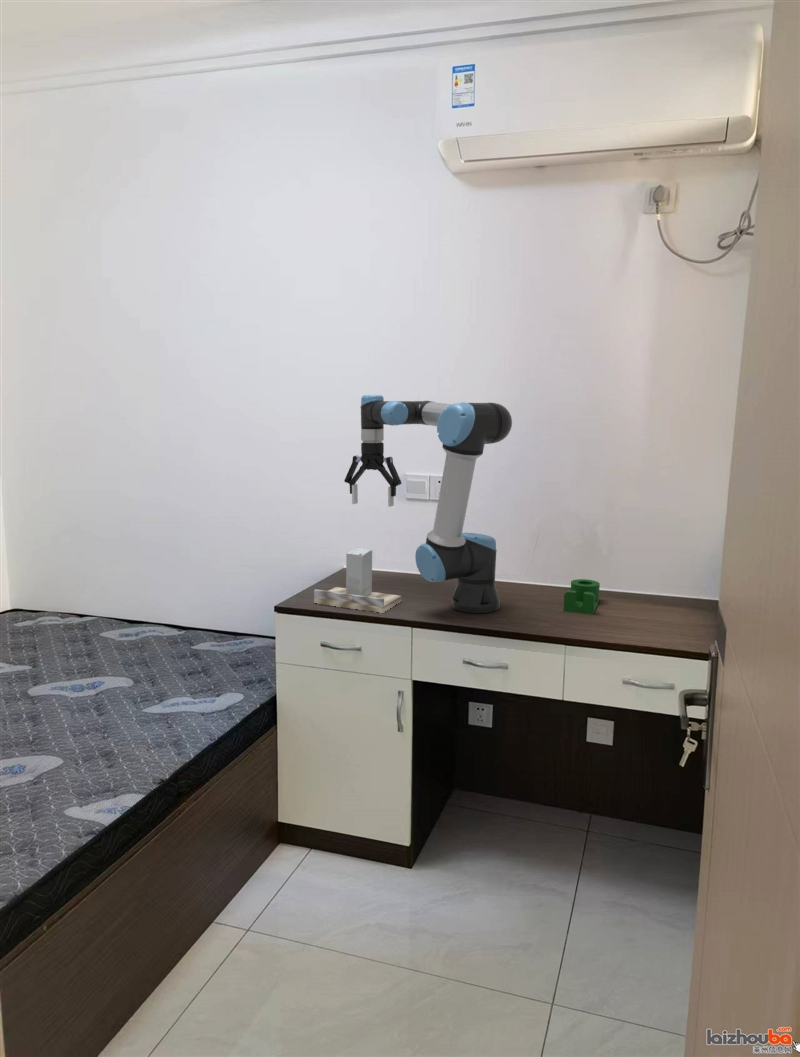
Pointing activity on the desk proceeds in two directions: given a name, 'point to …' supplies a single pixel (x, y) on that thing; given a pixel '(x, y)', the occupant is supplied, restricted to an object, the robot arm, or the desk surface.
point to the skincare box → (359, 572)
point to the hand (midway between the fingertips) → (372, 504)
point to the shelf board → (356, 600)
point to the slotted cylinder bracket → (582, 596)
